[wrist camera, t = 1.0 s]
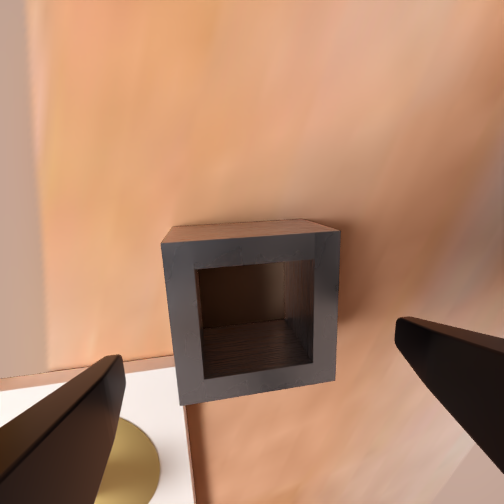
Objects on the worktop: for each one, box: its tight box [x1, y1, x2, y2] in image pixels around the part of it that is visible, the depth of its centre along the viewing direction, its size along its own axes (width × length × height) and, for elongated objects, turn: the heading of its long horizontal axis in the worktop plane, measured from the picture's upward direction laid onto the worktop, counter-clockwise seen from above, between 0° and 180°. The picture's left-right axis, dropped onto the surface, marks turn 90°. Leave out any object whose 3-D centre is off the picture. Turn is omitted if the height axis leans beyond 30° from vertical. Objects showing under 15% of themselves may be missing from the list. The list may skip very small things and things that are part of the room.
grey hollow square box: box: [161, 219, 341, 406], centre depth 12 cm, size 6×6×4 cm
